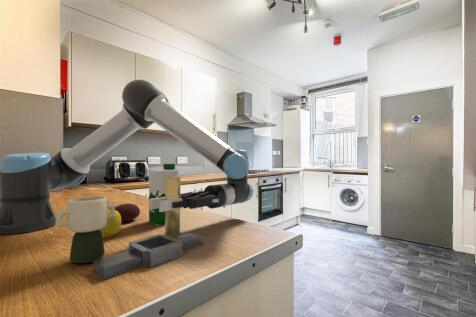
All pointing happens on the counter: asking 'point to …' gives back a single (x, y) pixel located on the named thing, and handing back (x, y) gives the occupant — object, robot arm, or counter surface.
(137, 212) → the potato
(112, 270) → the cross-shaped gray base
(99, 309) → the counter surface
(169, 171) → the milk carton
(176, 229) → the link pin
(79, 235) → the character mug
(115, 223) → the lemon
